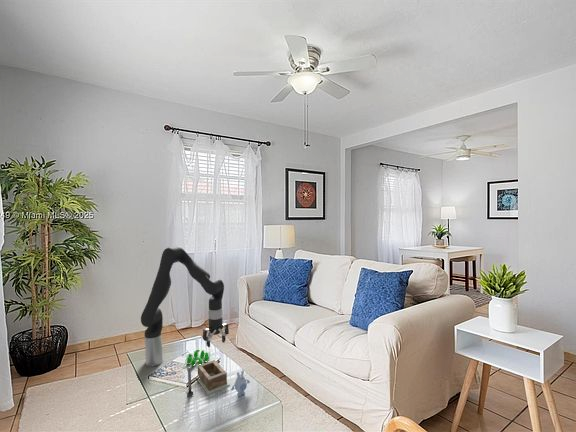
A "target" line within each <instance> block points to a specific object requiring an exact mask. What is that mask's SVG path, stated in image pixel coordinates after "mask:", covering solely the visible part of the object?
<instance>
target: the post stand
mask: <svg viewBox="0 0 576 432" xmlns="http://www.w3.org/2000/svg"><path fill="white" fill-rule="evenodd" d="M186 370H187V371H186V372H187V383H188V385H187V386H188V387H187V389H188V391H187V392H186V396H187V397H188V398H191V397H193V396H194V391H192V372H191V371H192V367H191V366H190V367H187V369H186ZM192 395H193V396H192ZM190 396H191V397H190Z"/></svg>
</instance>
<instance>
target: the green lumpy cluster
mask: <svg viewBox="0 0 576 432" xmlns="http://www.w3.org/2000/svg"><path fill="white" fill-rule="evenodd" d="M199 353H200V355H199ZM198 355H199V356H198ZM210 357H211V354H210V352H208V351H207V352H205V350H204V349H201V350H200V349H196V350H194V352H193V354H191V353H188V354H187V355H186V359H185V364H187V363H190V362H191V364H190V366H191V365H194V364H195V365H196V361H198V365H199V364H201V365H202V364H203V361H207V360H208V361H209V360H210ZM191 360H192V361H191Z"/></svg>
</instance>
